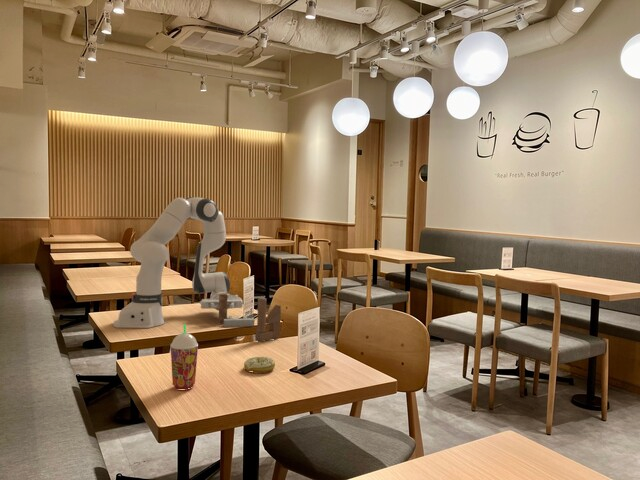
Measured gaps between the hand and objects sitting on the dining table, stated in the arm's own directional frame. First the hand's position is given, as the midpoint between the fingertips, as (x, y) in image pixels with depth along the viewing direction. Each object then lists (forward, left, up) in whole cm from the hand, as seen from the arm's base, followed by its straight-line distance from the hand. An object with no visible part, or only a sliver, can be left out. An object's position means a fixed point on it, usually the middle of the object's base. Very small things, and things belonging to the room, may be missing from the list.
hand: (223, 306), depth 254 cm
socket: (+7, -3, -8) cm, 11 cm away
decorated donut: (+6, -72, -9) cm, 73 cm away
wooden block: (+16, -32, -8) cm, 37 cm away
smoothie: (-20, -86, -8) cm, 89 cm away
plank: (0, +1, -8) cm, 8 cm away
